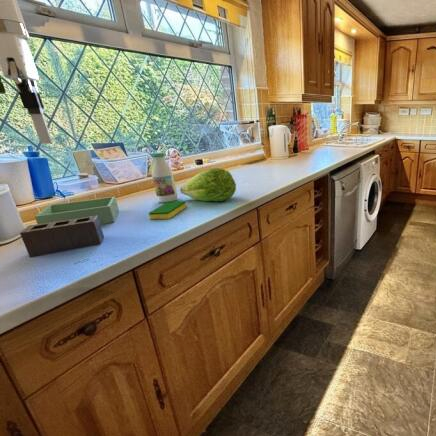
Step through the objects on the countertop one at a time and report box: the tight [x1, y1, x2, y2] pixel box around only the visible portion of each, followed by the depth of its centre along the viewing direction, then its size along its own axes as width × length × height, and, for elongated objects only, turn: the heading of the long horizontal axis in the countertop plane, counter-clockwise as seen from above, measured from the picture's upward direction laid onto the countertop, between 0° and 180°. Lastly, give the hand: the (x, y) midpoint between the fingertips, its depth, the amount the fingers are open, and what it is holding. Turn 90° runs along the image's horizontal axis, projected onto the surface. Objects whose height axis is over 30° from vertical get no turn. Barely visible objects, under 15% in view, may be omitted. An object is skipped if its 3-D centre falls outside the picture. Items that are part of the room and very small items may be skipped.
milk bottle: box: [151, 151, 179, 203], centre depth 125 cm, size 8×8×20 cm
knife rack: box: [19, 215, 105, 258], centre depth 84 cm, size 16×6×7 cm, turn 118°
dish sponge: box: [148, 200, 187, 220], centre depth 111 cm, size 7×14×2 cm, turn 0°
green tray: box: [34, 196, 120, 225], centre depth 105 cm, size 20×15×6 cm
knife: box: [26, 86, 54, 145], centre depth 83 cm, size 3×2×15 cm
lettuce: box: [179, 167, 237, 202], centre depth 124 cm, size 15×24×14 cm, turn 73°
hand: (34, 107), depth 83 cm, fingers closed on knife, 2 cm apart
